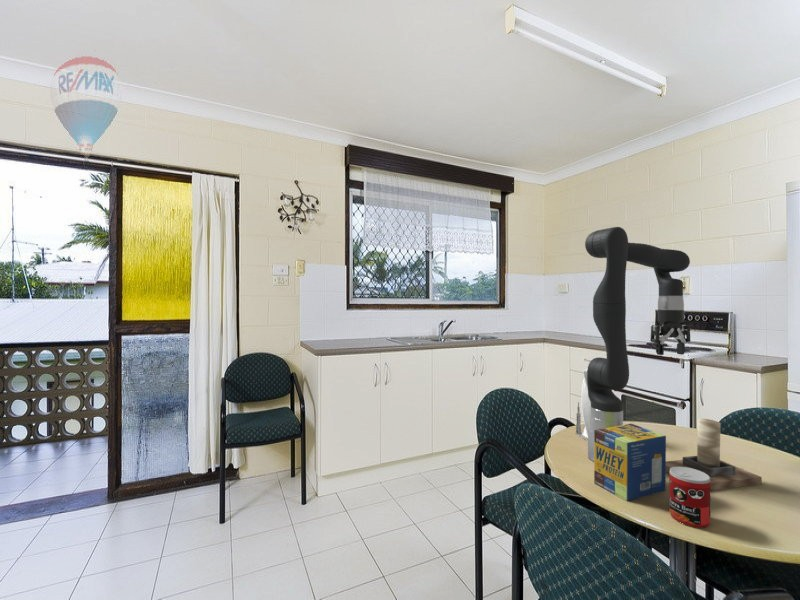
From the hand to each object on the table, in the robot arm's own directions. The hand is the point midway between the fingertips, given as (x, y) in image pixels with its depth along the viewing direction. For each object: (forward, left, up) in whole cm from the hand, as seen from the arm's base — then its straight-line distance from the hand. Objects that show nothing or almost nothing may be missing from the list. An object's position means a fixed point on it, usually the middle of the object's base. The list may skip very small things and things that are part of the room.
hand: (670, 354), depth 133 cm
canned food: (-34, -37, -33) cm, 60 cm away
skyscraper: (-20, +15, -34) cm, 42 cm away
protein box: (-36, -21, -33) cm, 53 cm away
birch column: (-8, -20, -31) cm, 38 cm away
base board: (-8, -20, -33) cm, 39 cm away
